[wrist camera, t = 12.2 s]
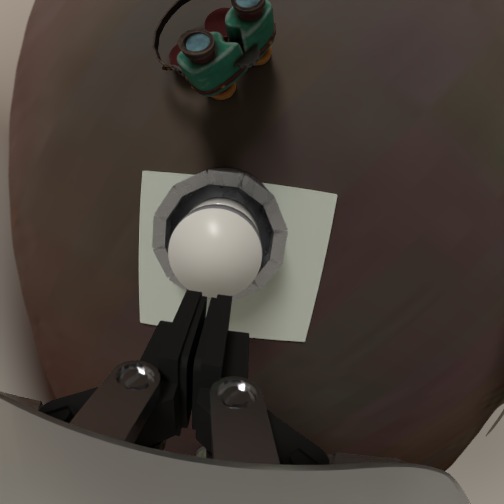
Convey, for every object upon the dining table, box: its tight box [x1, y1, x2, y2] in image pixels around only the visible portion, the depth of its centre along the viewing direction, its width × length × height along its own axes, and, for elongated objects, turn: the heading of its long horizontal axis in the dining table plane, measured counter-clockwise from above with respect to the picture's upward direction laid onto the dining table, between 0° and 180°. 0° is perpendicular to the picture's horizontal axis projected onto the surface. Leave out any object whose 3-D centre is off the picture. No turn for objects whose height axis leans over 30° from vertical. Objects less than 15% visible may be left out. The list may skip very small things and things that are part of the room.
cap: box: [168, 197, 263, 298], centre depth 22 cm, size 6×6×5 cm
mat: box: [139, 171, 337, 342], centre depth 29 cm, size 18×16×1 cm
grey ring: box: [152, 167, 288, 301], centre depth 25 cm, size 10×10×6 cm
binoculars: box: [153, 0, 276, 100], centre depth 18 cm, size 9×11×10 cm
